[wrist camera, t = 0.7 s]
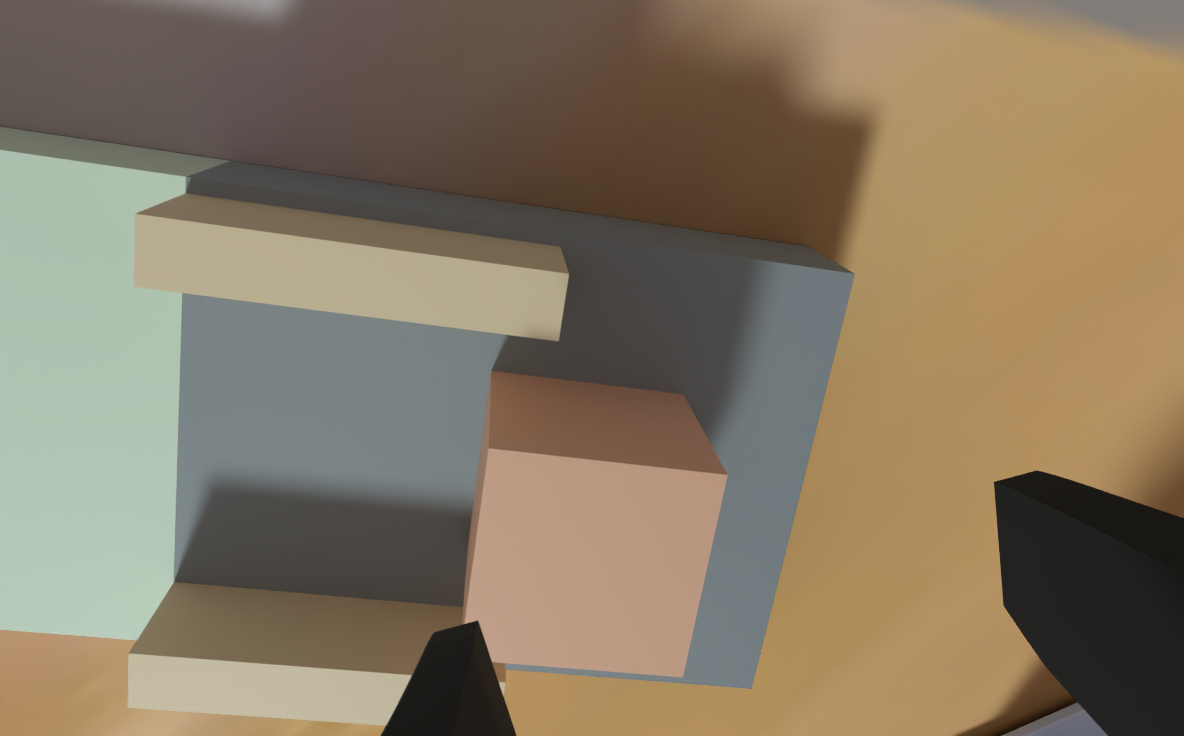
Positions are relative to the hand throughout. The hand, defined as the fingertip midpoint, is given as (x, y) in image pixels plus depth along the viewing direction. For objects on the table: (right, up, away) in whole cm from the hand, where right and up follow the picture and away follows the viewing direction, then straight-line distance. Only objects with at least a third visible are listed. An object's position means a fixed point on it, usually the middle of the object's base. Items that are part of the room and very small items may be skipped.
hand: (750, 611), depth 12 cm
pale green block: (-14, +3, +8) cm, 16 cm away
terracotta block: (-3, +1, +7) cm, 8 cm away
